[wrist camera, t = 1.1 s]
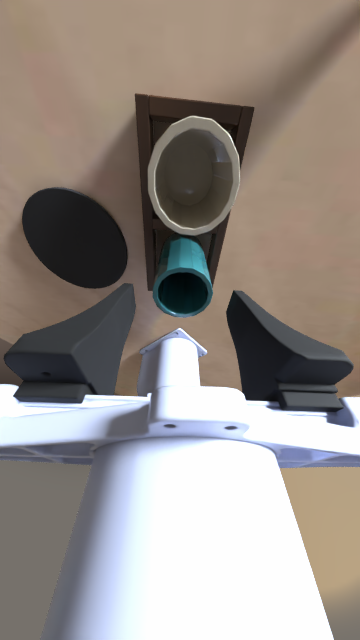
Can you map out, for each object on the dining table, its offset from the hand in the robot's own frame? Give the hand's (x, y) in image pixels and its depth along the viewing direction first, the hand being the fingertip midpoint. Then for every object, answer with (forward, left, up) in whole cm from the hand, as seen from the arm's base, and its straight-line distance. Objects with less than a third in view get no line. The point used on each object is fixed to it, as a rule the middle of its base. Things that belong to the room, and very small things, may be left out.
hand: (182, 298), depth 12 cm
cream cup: (+4, +5, -8) cm, 11 cm away
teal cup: (0, 0, -8) cm, 9 cm away
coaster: (-8, +7, -8) cm, 14 cm away
